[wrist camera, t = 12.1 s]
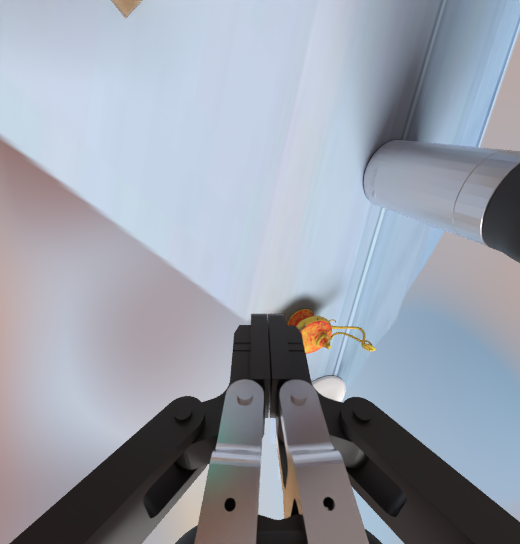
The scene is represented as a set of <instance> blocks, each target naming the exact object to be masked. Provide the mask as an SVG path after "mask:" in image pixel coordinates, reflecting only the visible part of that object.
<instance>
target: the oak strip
mask: <svg viewBox="0 0 520 544" xmlns="http://www.w3.org/2000/svg"><path fill="white" fill-rule="evenodd" d="M111 1H112V2H113V3H114V4H115V6H116V7H117V8H118V9H119V11H120V12H121V13H122V14H123V16H124V17H125V18H127V17H128V15H129V14H130V13H131V12H132V11H133V10H134V9H135V8H136V7H137V6H138V5H139V3H140V2H141V1H142V0H111Z"/></svg>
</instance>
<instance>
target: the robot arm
mask: <svg viewBox="0 0 520 544" xmlns="http://www.w3.org/2000/svg"><path fill="white" fill-rule="evenodd" d="M364 191H365V194H366V196H367V198H368V199H369V200H370V202H372V203H373V204H375V205H378V206H380V207H383V208H386V209H388V210H391V211H394V212H396V213H399V214H402V215H404V216H407V217H410V218H412V219H415V220H418V221H420V222H423V223H426V224H428V225H431V226H434V227H436V228H439V229H442V230H444V231H447V232H450V233H452V234H455V235H458V236H461V237H463V238H466V239H469V240H472V241H474V242H477V243H480V244H482V245H485V246H488V247H490V248H493V249H496V250H498V251H501V252H503V253H504V254H506V255H507V256H509V257H511V258H512V259H514V260H515V261H517V262H519V263H520V151H512V150H511V151H510V150H499V149H489V148H479V147H468V146H458V145H447V144H437V143H427V142H417V141H406V140H393V141H390V142H388V143H385V144H384V145H383V146H381V147H380V148H379V149H378V150H377V151H376V152H375V153H374V155H373V156H372V158H371V159H370V161H369V163H368V165H367V168H366V171H365V175H364ZM232 355H233V356H232V366H231V377H230V383H229V386H228V388H227V389H226V391H225V392H224V393H223V394H221V395H220V396H218V397H217V398H214V399H211V400H208V401H205V402H201V401H200V400H198V399H197V398H194V397H191V396H184V397H180V398H178V399H176V400H174V401H172V402H171V403H170V404H169V405H168V406H166V407H165V408H164V409H163V410H162V411H161V412H160V413H158V414H157V415H156V416H155V417H154V418H153V419H152V420H150V421H149V422H148V423H147V424H146V425H145V426H144V427H142V428H141V429H140V430H139V431H138V432H137V433H136V434H134V435H133V436H132V437H131V438H130V439H129V440H128V441H126V442H125V443H124V444H123V445H122V446H121V447H120V448H119V449H117V450H116V451H115V452H114V453H113V454H112V455H110V456H109V457H108V458H107V459H106V460H105V461H104V462H102V463H101V464H100V465H99V466H98V467H97V468H96V469H94V470H93V471H92V472H91V473H90V474H89V475H88V476H87V477H85V478H84V479H83V480H82V481H81V482H80V483H79V484H77V485H76V486H75V487H74V488H73V489H72V490H70V491H69V492H68V493H67V494H66V495H65V496H64V497H62V498H61V499H60V500H59V501H58V502H57V503H56V504H54V505H53V506H52V507H51V508H50V509H49V510H48V511H46V512H45V513H44V514H43V515H42V516H41V517H40V518H38V519H37V520H36V521H35V522H34V523H33V524H32V525H31V526H29V527H28V528H27V529H26V530H25V531H24V532H22V533H21V534H20V535H19V536H18V537H17V538H16V539H14V540H13V541H12V542H11V543H10V544H142V543H143V541H144V540H145V539H146V538H147V536H148V535H149V534H150V533H151V532H152V531H153V530H154V528H155V527H156V526H157V525H158V524H159V522H160V521H161V520H162V519H163V518H164V517H165V515H166V514H167V513H168V512H169V511H170V509H171V508H172V507H173V506H174V505H175V504H176V502H177V501H178V500H179V499H180V498H181V496H182V495H183V494H184V493H185V492H186V490H187V489H188V488H189V487H190V486H191V484H192V483H193V482H194V481H195V480H196V479H197V477H198V476H199V475H200V474H201V472H202V471H203V470H204V469H205V468H206V466H207V464H210V465H209V470H208V476H207V481H206V486H205V491H204V496H203V501H202V507H201V512H200V517H199V522H198V525H197V526H195V527H194V528H192V529H191V530H190V531H188V532H187V533H186V534H184V535H183V536H182V537H181V538H180V539H179V540H178V541H177V542H176V543H175V544H382V543H381V542H380V541H379V540H378V539H377V538H376V537H375V536H374V535H372V534H371V533H370V532H369V531H367V530H366V529H364V525H363V522H362V519H361V516H360V513H359V509H358V506H357V503H356V500H355V497H354V493H353V490H352V487H353V488H354V489H355V490H356V491H357V493H358V494H359V495H360V496H361V497H362V498H363V499H364V500H365V501H366V502H367V503H368V505H370V507H371V508H372V509H373V510H374V511H375V512H376V513H377V514H378V515H379V516H380V517H381V519H382V520H383V521H384V522H385V523H386V524H387V525H388V526H389V527H390V528H391V529H392V530H393V532H394V533H395V534H396V535H397V536H398V537H399V538H400V539H401V540H402V541H403V542H404V543H405V544H520V522H519V521H518V520H516V519H515V518H514V517H513V516H511V515H510V514H509V513H508V512H507V511H505V510H504V509H503V508H502V507H500V506H499V505H498V504H497V503H495V502H494V501H493V500H491V499H490V498H489V497H488V496H486V494H484V493H483V492H482V491H481V490H479V489H478V488H477V487H476V486H474V485H473V484H472V483H471V482H469V481H468V480H467V479H466V478H464V477H463V476H462V475H461V474H460V473H458V472H457V471H456V470H454V469H453V468H452V467H451V466H450V465H448V464H447V463H446V462H445V461H443V460H442V459H441V458H440V457H438V456H437V455H436V454H435V453H433V452H432V451H431V450H430V449H429V448H427V447H426V446H425V445H423V444H422V443H421V442H420V441H419V440H417V439H416V438H415V437H414V436H413V435H411V434H410V433H409V432H407V431H406V430H405V429H404V428H403V427H401V426H400V425H399V424H398V423H397V422H395V421H394V420H393V419H392V418H390V417H389V416H388V415H387V414H385V413H384V412H383V411H382V410H380V409H379V408H378V407H377V406H375V405H374V404H373V403H372V402H370V401H368V400H366V399H364V398H360V397H352V398H349V399H347V400H345V401H344V403H342V402H339V401H335V400H332V399H329V398H326V397H325V396H323V395H321V394H320V393H319V392H318V391H317V390H316V389H315V388H314V387H313V385H312V383H311V379H310V374H309V369H308V364H307V359H306V353H305V348H304V345H303V338H302V333H301V332H300V331H299V329H298V328H297V327H296V326H295V325H285V318H284V314H268V323H267V314H251V325H239V327H238V329H237V330H236V332H235V333H234V344H233V354H232ZM269 410H270V418H276V445H277V452H278V459H279V467H280V474H281V482H282V489H283V504H284V519H282V520H274V519H271V518H267V517H265V516H261V515H258V508H259V507H258V506H259V488H260V469H261V450H262V438H263V435H264V424H265V418H268V412H269ZM351 486H352V487H351Z"/></svg>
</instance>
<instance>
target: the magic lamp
mask: <svg viewBox="0 0 520 544" xmlns="http://www.w3.org/2000/svg"><path fill="white" fill-rule="evenodd" d="M329 321H331V320H329ZM329 321H328V320H327V319H325V318H324V317H320V316H314V314H313V312H312V311H311V310H309V309H302V310H299V311H297V312H295V313H294V314H293V315H292V316H291V317H290V319H289V321H288V325H295V326H296V327H297V328H298V329H299V331H300V332H301V333H302V338H303V345H304V348H305V353H306V354H307V353H312V352H315V351H317V350H319V349H320V348H322V347H325V348H327V349H330V348H331V346H330V340H331V339H332V337H333V336H334V335H336V334H344V335H347V336H350V337H352V338H354V339H357V341H359V342H362V347H363V348H364V349H365V350H368V351H374V350H376V349H375V348H374V347H373V346H372V344H371V343H370V342H369V341H367V340H365V332H364V330H363V329H361V328H359V327H337V326H331V324H330V322H329ZM334 321H335V320H334ZM335 322H336V321H335ZM332 329H359V330H361V331H362V333H363V341H362V340H360V339H358V338H356V337H354V336H352V335H350V334H346V333H342V332H338V333H337V332H336V333H335V334H333V335H332V336H331V334H332ZM365 341H366V342H368V343H370V344H365Z"/></svg>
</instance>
